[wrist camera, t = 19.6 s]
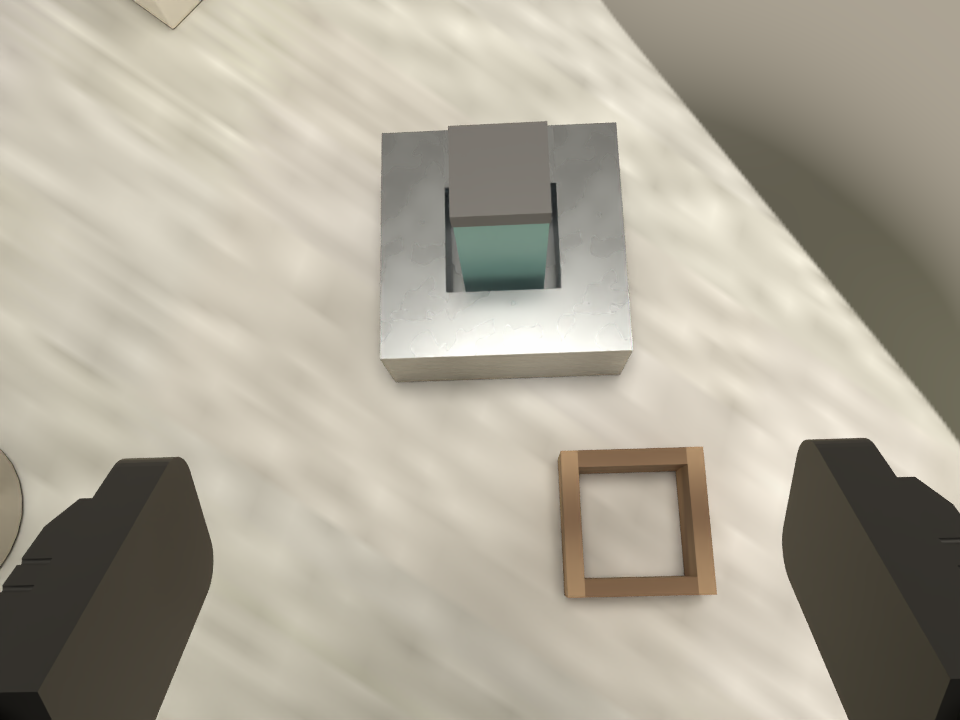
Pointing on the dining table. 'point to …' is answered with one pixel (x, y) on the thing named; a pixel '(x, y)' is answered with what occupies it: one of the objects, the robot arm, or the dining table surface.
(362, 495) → the dining table surface
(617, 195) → the port
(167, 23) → the milk
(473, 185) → the plug
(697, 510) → the brown wooden square frame
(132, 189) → the dining table surface
